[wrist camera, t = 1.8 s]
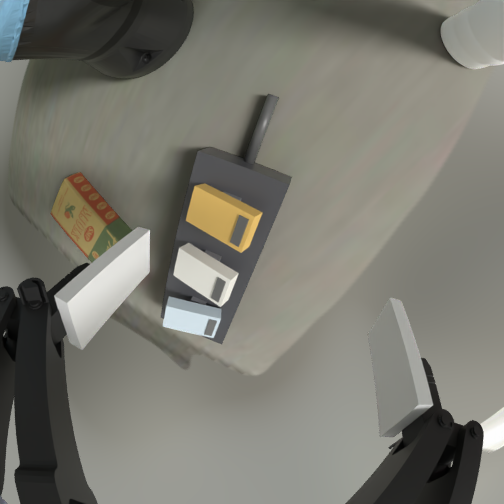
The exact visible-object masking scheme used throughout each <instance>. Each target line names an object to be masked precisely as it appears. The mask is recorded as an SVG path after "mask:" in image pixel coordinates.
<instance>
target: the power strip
mask: <svg viewBox="0 0 504 504" xmlns="http://www.w3.org/2000/svg"><path fill="white" fill-rule="evenodd" d="M278 99H279V97H277V96H274V95H271V94H268V95H267V98H266V101H265V103H264V106H263V109H262V111H261V114H260V117H259V119H258V122H257V125H256V127H255V130H254V133H253V136H252V138H251V141H250V144H249V147H248V150H247V152H246V155H245V158H241V157H239V156H236V155H233V154H230V153H227V152H224V151H222V150H219V149H216V148H213V147H209V148H205V149H202V150H199V151H198V152H197V156H196V159H195V163H194V166H193V170H192V174H191V177H190V181H189V185H188V189H187V192H186V196H185V200H184V204H183V208H182V212H181V217H180V221H179V225H178V230H177V234H176V238H175V243H174V248H173V252H172V257H171V262H170V267H169V272H168V278H167V283H166V289H165V294H164V300H163V306H162V312H161V318H163V319H164V316H165V310H166V305H167V301H168V298H169V296H170V297H174V298H178V299H182V300H186V301H190V302H194V303H198V304H202V305H206V306H211V307H215V308H220V309H221V320H220V323H219V325H218V328H217V331H216V333H215V336H214V338H211V337H206V336H203V337H205V338H208V339H210V340H212V341H215V342H217V343H220V344H222V343H223V340H224V338H225V336H226V333H227V331H228V329H229V326H230V324H231V322H232V319H233V317H234V315H235V312H236V310H237V308H238V305H239V303H240V301H241V298H242V296H243V294H244V291H245V289H246V287H247V284H248V282H249V280H250V277H251V275H252V273H253V270H254V268H255V266H256V263H257V261H258V259H259V256H260V254H261V251H262V249H263V247H264V244H265V242H266V240H267V237H268V235H269V232H270V230H271V228H272V225H273V223H274V221H275V218H276V216H277V213H278V211H279V209H280V206H281V204H282V201H283V199H284V197H285V194H286V192H287V189H288V187H289V185H290V181H291V178H292V177H290V176H288V175H285V174H283V173H281V172H278V171H276V170H273V169H270V168H268V167H265V166H263V165H260V164H258V163H255V160H256V157H257V154H258V151H259V149H260V146H261V143H262V141H263V138H264V135H265V133H266V130H267V127H268V125H269V122H270V119H271V117H272V114H273V112H274V109H275V106H276V104H277V101H278ZM204 183H205V184H207V185H209V186H211V187H213V188H215V189H217V190H219V191H221V192H223V193H225V194H227V195H229V196H231V197H233V198H235V199H237V200H239V201H241V202H243V203H245V204H247V205H249V206H251V207H253V208H255V209H257V210H259V211H261V212H262V215H261V218H260V220H259V223H258V226H257V228H256V231H255V233H254V236H253V238H252V241H251V243H250V246H249V247H248V248H247V249H246V250H244V251H243V252H241V253H240V252H239V251H237V250H235V249H233V248H232V247H230V246H228V245H227V244H225V243H223V242H221V241H220V240H218V239H216V238H215V237H213V236H211V235H209V234H208V233H206V232H204V231H203V230H201V229H199V228H197V227H196V226H194V225H192V224H191V223H189V222H187V221H186V217H187V213H188V209H189V205H190V201H191V198H192V194H193V190H194V186H196V185H200V184H204ZM187 243H190V244H192V245H193V246H195V247H197V248H198V249H200V250H201V251H203V252H205V253H206V254H208V255H209V256H211V257H213V258H214V259H216V260H218V261H219V262H221V263H223V264H224V265H226V266H227V267H229V268H231V269H232V270H234V271H236V272H237V273H239V274H238V277H237V279H236V282H235V284H234V287H233V289H232V292H231V295H230V297H229V300H228V301H226V302H225V303H224V304H223V305H222V306H221V307H220V306H218V305H217V304H215V303H214V302H212V301H211V300H209V299H208V298H206V297H205V296H203V295H202V294H200V293H199V292H197V291H196V290H194V289H193V288H191V287H190V286H188V285H187V284H185V283H184V282H182V281H181V280H180V279H178V278H177V277H175V276H174V275H173V274H174V269H175V264H176V260H177V255H178V251H179V248H180V247H182V246H183V245H185V244H187Z"/></svg>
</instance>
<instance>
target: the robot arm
mask: <svg viewBox="0 0 504 504" xmlns="http://www.w3.org/2000/svg"><path fill="white" fill-rule="evenodd" d="M193 13H194V12H193V4H192V1H191V0H0V61H6V62H11V61H12V60H23V59H64V60H82V61H84V62H85V63H87V64H89V65H90V66H92V67H93V68H95V69H96V70H98V71H99V72H101V73H103V74H105V75H107V76H111V77H116V78H137V77H141V76H144V75H146V74H149V73H151V72H153V71H154V70H156V69H158V68H159V67H161V66H162V65H163V64H165V63H166V62H167V61H168V60H169V59H170V58H171V57H172V56H173V55H174V54H175V53H176V52H177V51H178V50H179V48H180V47H181V46H182V44H183V43H184V41H185V39H186V37H187V36H188V33H189V31H190V28H191V25H192V21H193ZM149 272H150V230H148V229H145V228H141V227H137V228H136V229H134V230H133V231H132V232H130V233H129V234H128V235H126V236H125V237H124V238H123V239H121V240H120V241H119V242H117V243H116V244H115V245H114V246H112V247H111V248H110V249H108V250H107V251H106V252H105V253H103V254H102V255H101V256H100V257H99V258H97V259H96V260H95V261H94V262H92V263H91V264H89V263H85V264H82V265H80V266H78V267H76V268H75V269H74V270H73V271H72V272H70V274H68V275H67V276H66V277H65V278H63V279H62V280H61V281H60V282H59V283H58V284H56V285H55V286H54V287H53V288H52V289H50V290H49V291H48V292H46V290H45V285H44V282H43V281H42V280H41V279H39V278H30V279H26V280H25V281H23V282H22V283H21V284H20V285H19V286H18V288H17V290H18V293H19V296H20V298H17V297H15V294H14V291H13V289H12V288H10V287H1V288H0V504H7V502H6V501H5V500H3V499H2V497H1V494H2V490H3V484H4V474H5V458H6V444H7V436H8V428H9V421H10V415H11V409H12V404H13V399H14V405H15V425H16V436H17V445H18V453H19V459H20V465H19V467H18V468H17V469H16V470H15V474H14V476H15V483H16V487H17V492H18V496H19V500H20V504H97V501H96V498H95V496H94V494H93V492H92V491H91V489H90V488H89V486H88V484H87V482H86V479H85V476H84V473H83V469H82V465H81V462H80V458H79V454H78V450H77V446H76V441H75V437H74V431H73V426H72V421H71V415H70V408H69V401H68V393H67V384H66V373H65V360H64V342H63V338H64V336H65V335H66V334H67V337H68V339H69V342H70V343H71V344H73V345H74V346H76V347H78V348H79V349H81V350H83V348H84V347H85V346H86V345H87V344H88V342H89V341H90V340H91V339H92V337H93V336H94V335H95V334H96V333H97V331H98V330H99V329H100V328H101V327H102V325H103V324H104V323H105V322H106V320H107V319H108V318H109V317H110V316H111V315H112V314H113V313H114V311H115V310H116V309H117V308H118V307H119V306H120V304H121V303H122V302H123V301H124V300H125V299H126V298H127V297H128V295H129V294H130V293H131V292H132V291H133V290H134V289H135V288H136V286H137V285H138V284H139V283H140V282H141V281H142V280H143V279H144V278H145V277H146V275H147V274H148V273H149ZM4 332H6V333H5V335H4V337H3V334H4ZM368 339H369V345H370V352H371V358H372V365H373V372H374V380H375V388H376V397H377V408H378V419H379V433H380V437H394V436H396V435H397V434H399V433H400V432H401V431H402V436H403V437H402V438H401V439H399V440H398V441H397V442H395V443H394V444H392V445H391V446H390V447H389V449H391V448H392V447H393V449H392V450H391V452H390V453H389V455H388V456H387V457H386V458H385V459H384V461H383V462H382V463H381V464H380V466H379V467H378V468H377V469H376V471H375V472H374V473H373V474H372V475H371V477H370V478H369V479H368V480H367V481H366V482H365V483H364V485H363V486H362V487H361V488H360V489H359V490H358V491H357V492H356V493H355V494H354V495H353V497H352V498H351V499H350V500H349V501H348V502H347V503H346V504H471V503H472V499H473V495H474V491H475V486H476V482H477V477H478V472H479V467H480V460H481V454H482V446H483V436H484V435H483V429H482V427H481V425H480V424H479V423H478V422H477V421H474V420H472V421H469V422H468V423H467V424H466V425H464V426H463V425H460V424H457V423H454V419H453V417H452V415H451V414H450V413H449V412H448V411H446V410H444V409H442V407H441V403H440V399H439V395H438V391H437V387H436V384H435V380H434V377H433V373H432V370H431V367H430V365H429V364H428V362H427V360H426V359H425V358H421V357H420V354H419V351H418V347H417V344H416V341H415V338H414V335H413V332H412V329H411V326H410V323H409V321H408V318H407V315H406V312H405V309H404V307H403V304H402V301H401V300H397V299H393V298H389V300H388V302H387V303H386V305H385V307H384V308H383V310H382V312H381V314H380V315H379V317H378V318H377V320H376V322H375V323H374V325H373V326H372V328H371V330H370V331H369V333H368ZM452 461H453V465H452V467H451V462H452Z"/></svg>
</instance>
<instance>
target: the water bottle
mask: <svg viewBox="0 0 504 504" xmlns="http://www.w3.org/2000/svg"><path fill="white" fill-rule="evenodd" d="M441 38H442V41H443V43H444V46H445V47H446V49H447V51H448V52H449V54H450V55H451V56H452V57H453V58H454V59H455V60H456V61H457V62H458V63H460V64H461V65H463V66H465V67H467V68H470V69H479V68H484V67H487V66H489V65H492V66H493V65H501V64H504V0H480V1H478V2H477V3H476V4H475V5H473V6H470V7H467V8H465V9H463V10H462V11H460V12H459V13H458V14H456V15H454V16H451V17H449V18H448V19H446V20H445V21H444V22H443V23H442V26H441Z"/></svg>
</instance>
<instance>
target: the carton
mask: <svg viewBox="0 0 504 504" xmlns="http://www.w3.org/2000/svg"><path fill="white" fill-rule="evenodd" d="M51 215H52V216H53V218H54V219H55V220H56V222H57V223H58V224H59V225H60V226H61V228H62V229H63V230H64V231H65V232H66V234H67V235H68V236H69V237H70V238H71V239H72V241H73V242H74V243H75V244H76V245H77V246H78V248H79V249H80V250H81V251H82V252H83V253H84V255H85V256H86V257H87V258H88V259H89V260H90V261H91V262H94V261H95V260H96V259H97V258H99V257H100V256H101V255H102V254H103V253H105V252H106V251H107V250H108V249H110V248H111V247H112V246H114V245H115V244H116V243H117V242H119V241H120V240H121V239H123V238H124V237H125V236H126V235H128V234H129V233H130V232H132V230H131V229H130V228H129V227H128V226H127V224H126V223H125V222H124V221H123V220H122V219H121V218H120V217H119V216H118V215H117V214H116V212H115V211H114V210H113V209H112V208H111V207H110V206H109V205H108V204H107V202H106V201H105V200H104V199H103V198H102V197H101V196H100V194H99V193H98V192H97V191H96V190H95V189H94V188H93V186H92V185H91V184H90V183H89V182H88V181H87V179H86V178H85V177H84V176H83V175H82V173H81V172H79V173H76V174H74V175H71V176H69V177H67V178H65V179H64V181H63V183H62V185H61V187H60V189H59V192H58V194H57V197H56V200H55V202H54V205H53V208H52V211H51Z"/></svg>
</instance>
